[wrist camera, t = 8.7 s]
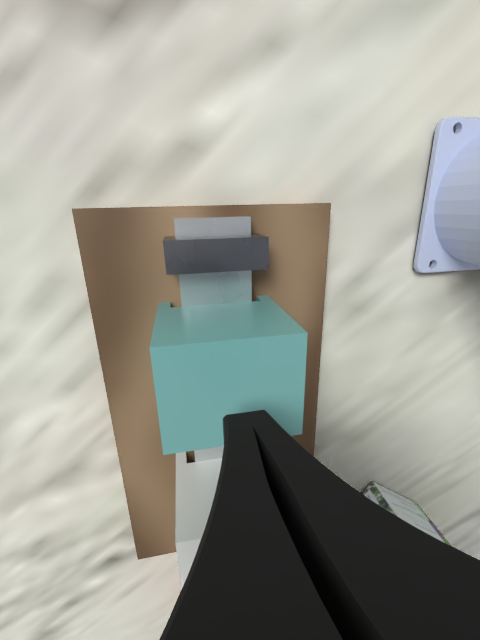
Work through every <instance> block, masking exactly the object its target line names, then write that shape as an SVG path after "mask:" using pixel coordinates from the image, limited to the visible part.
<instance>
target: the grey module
mask: <svg viewBox="0 0 480 640" xmlns="http://www.w3.org/2000/svg"><path fill="white" fill-rule="evenodd" d="M221 463H222V458H218V459H212V460H205V461H199V462H193V463H187V457H186V452H181V453H176V527H175V544H176V551H177V559H178V567H179V575H180V583H181V590H182V588H183V585H184V583H185V581H186V578H187V576H188V573H189V571H190V568H191V566H192V563H193V560H194V558H195V555H196V552H197V550H198V547H199V544H200V541H201V538H202V535H203V532H204V530H205V526H206V523H207V520H208V517H209V513H210V510H211V507H212V503H213V499H214V496H215V492H216V487H217V483H218V478H219V474H220V469H221Z"/></svg>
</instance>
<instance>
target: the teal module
mask: <svg viewBox="0 0 480 640" xmlns="http://www.w3.org/2000/svg"><path fill="white" fill-rule="evenodd" d="M307 337H308V333H307V332H306V331H305V330H304V329H303V328H302V327H301V326H300V325H299V324H298V323H297V322H296V321H295V320H294V319H292V318H291V317H290V316H289V315H288V314H287V313H286V312H285V311H284V310H283V309H282V308H281V307H280V306H279V305H278V304H276V303H275V302H274V301H273V300H272V299H271V298H270V297H269V296H268V295H261V296H256V301H254V302H240V303H227V304H213V305H200V306H186V307H172V308H171V302H162V303H158V307H157V312H156V317H155V322H154V327H153V332H152V337H151V342H150V356H151V363H152V371H153V379H154V387H155V395H156V402H157V410H158V418H159V426H160V434H161V441H162V449H163V455H167V454H174V453H181V452H187V451H194V450H201V449H207V448H214V447H220V446H224V436H223V418H224V417H225V416H226V415H228V414H236V413H243V412H251V411H258V410H265V411H266V412H268V413H269V415H270V416H271V417H272V418H273V419H274V420H275V421H276V422H277V423H278V424H279V425H280V426H281V427H282V428H283V429H284V430H285V431H286V432H287V433H288V434H289V435H290V436H293V435H300V434H302V429H303V411H304V392H305V374H306V355H307Z"/></svg>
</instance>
